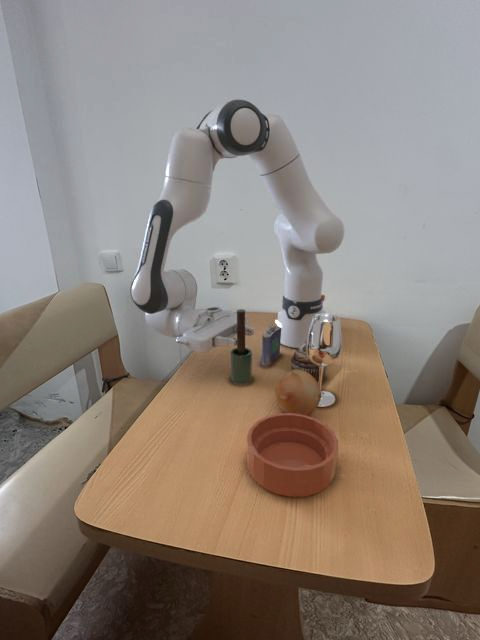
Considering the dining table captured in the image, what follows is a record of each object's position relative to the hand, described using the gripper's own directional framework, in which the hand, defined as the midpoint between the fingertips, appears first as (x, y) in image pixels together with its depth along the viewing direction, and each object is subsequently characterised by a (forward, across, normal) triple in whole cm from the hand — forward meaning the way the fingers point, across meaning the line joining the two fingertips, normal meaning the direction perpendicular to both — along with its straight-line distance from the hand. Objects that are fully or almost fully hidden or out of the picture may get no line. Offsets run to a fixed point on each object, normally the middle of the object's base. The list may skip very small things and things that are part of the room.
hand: (244, 337), depth 90 cm
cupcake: (+13, +10, +12) cm, 20 cm away
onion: (+17, -6, +12) cm, 22 cm away
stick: (-1, 0, +11) cm, 11 cm away
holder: (-1, 0, +12) cm, 12 cm away
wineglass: (+19, +2, +12) cm, 23 cm away
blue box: (0, +14, +12) cm, 18 cm away
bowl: (+23, -22, +12) cm, 34 cm away
